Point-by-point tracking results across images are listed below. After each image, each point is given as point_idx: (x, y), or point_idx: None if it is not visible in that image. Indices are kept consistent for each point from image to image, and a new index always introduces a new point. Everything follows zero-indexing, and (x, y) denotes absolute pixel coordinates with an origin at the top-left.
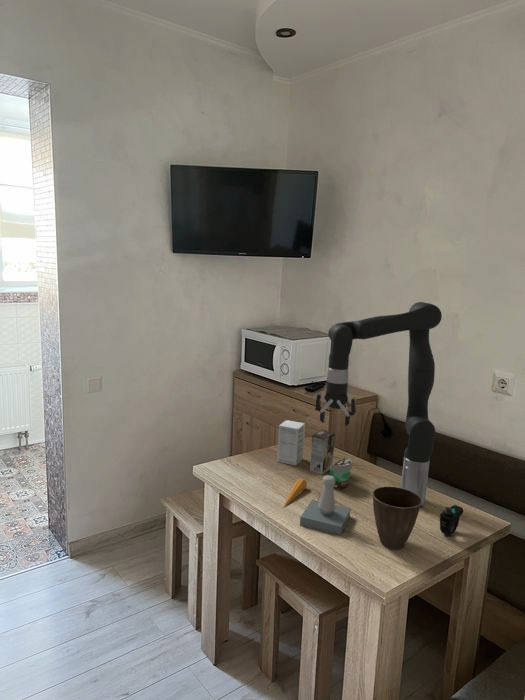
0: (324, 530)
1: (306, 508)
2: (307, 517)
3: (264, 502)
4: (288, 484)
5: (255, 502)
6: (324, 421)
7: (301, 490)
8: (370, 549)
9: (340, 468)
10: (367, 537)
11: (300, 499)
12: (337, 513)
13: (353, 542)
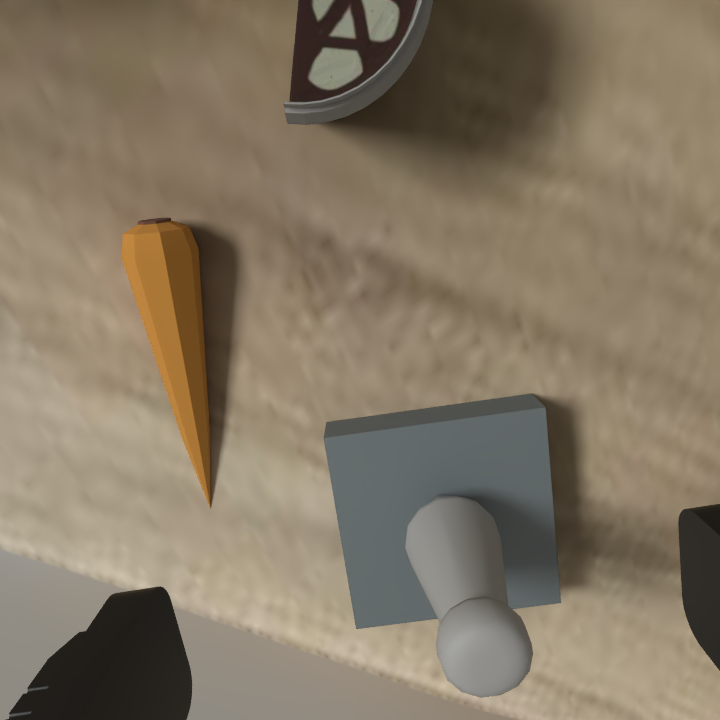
0: None
1: (343, 542)
2: (387, 616)
3: (105, 514)
4: (79, 242)
5: (70, 539)
6: (165, 591)
7: (199, 314)
8: None
9: (372, 90)
10: (660, 527)
11: (236, 376)
12: (501, 499)
13: (613, 596)
